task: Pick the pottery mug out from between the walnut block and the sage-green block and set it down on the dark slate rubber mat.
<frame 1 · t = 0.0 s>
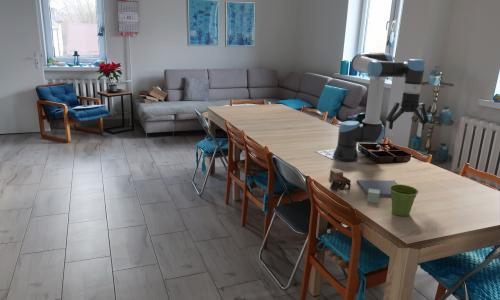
hand: (404, 136, 197), 28 cm above the table, fingers open, 13 cm apart
pottery mug: (340, 189, 202), on the table
slate mat: (381, 189, 204), on the table
walnut block: (335, 179, 215), on the table
plant pot: (400, 213, 178), on the table
sage block: (372, 200, 190), on the table
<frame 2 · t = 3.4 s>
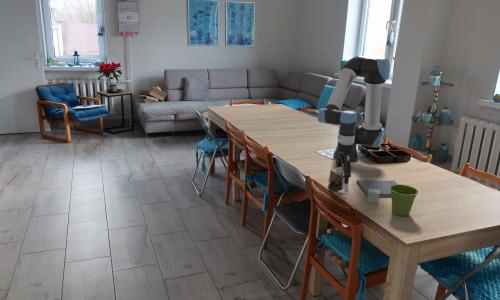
hand: (341, 184, 201), 3 cm above the table, fingers open, 13 cm apart
pottery mug: (338, 189, 202), on the table
everything else where it was.
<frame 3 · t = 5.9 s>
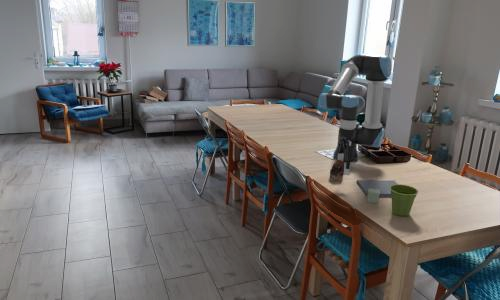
hand: (343, 170, 199), 10 cm above the table, fingers closed on pottery mug, 12 cm apart
pottery mug: (340, 175, 200), point 7 cm above the table, touching gripper
everything else where it was.
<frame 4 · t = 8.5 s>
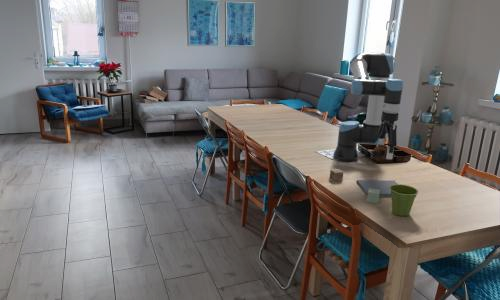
hand: (384, 155, 198), 18 cm above the table, fingers closed on pottery mug, 12 cm apart
pottery mug: (381, 159, 199), point 16 cm above the table, touching gripper
everything else where it was.
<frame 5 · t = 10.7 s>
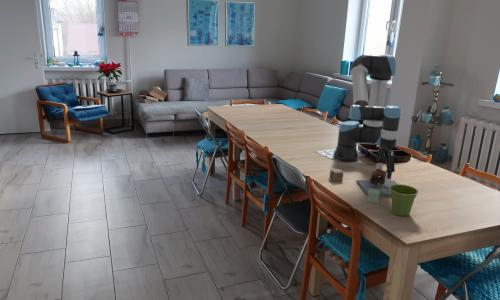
hand: (382, 179, 202), 5 cm above the table, fingers closed on pottery mug, 12 cm apart
pottery mug: (379, 184, 203), point 3 cm above the table, touching gripper
everything else where it was.
when the fingers open (3 cm above the table, at t = 12.8 s): pottery mug stays where it is, resting on slate mat.
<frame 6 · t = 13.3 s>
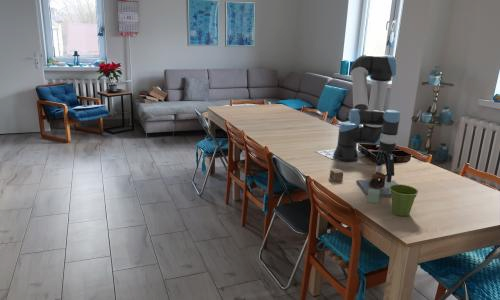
hand: (382, 182, 203), 4 cm above the table, fingers open, 13 cm apart
pottery mug: (379, 187, 203), point 1 cm above the table, touching slate mat
everything else where it was.
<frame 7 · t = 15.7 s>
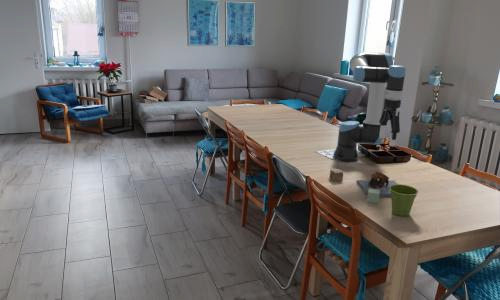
hand: (386, 141, 198), 25 cm above the table, fingers open, 13 cm apart
nothing on the table moved.
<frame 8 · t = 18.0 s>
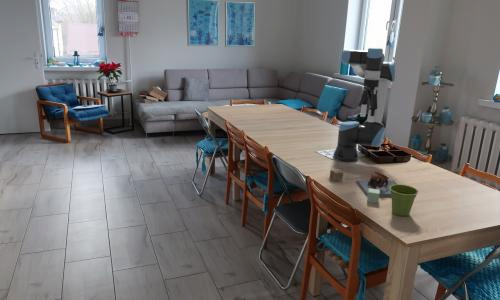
hand: (366, 119, 214), 32 cm above the table, fingers open, 13 cm apart
nothing on the table moved.
at the end: pottery mug inside the target area on the slate mat (1.7 cm from its centre), point 1.3 cm above the slate mat's base; pottery mug touching slate mat; the gripper is holding nothing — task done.
